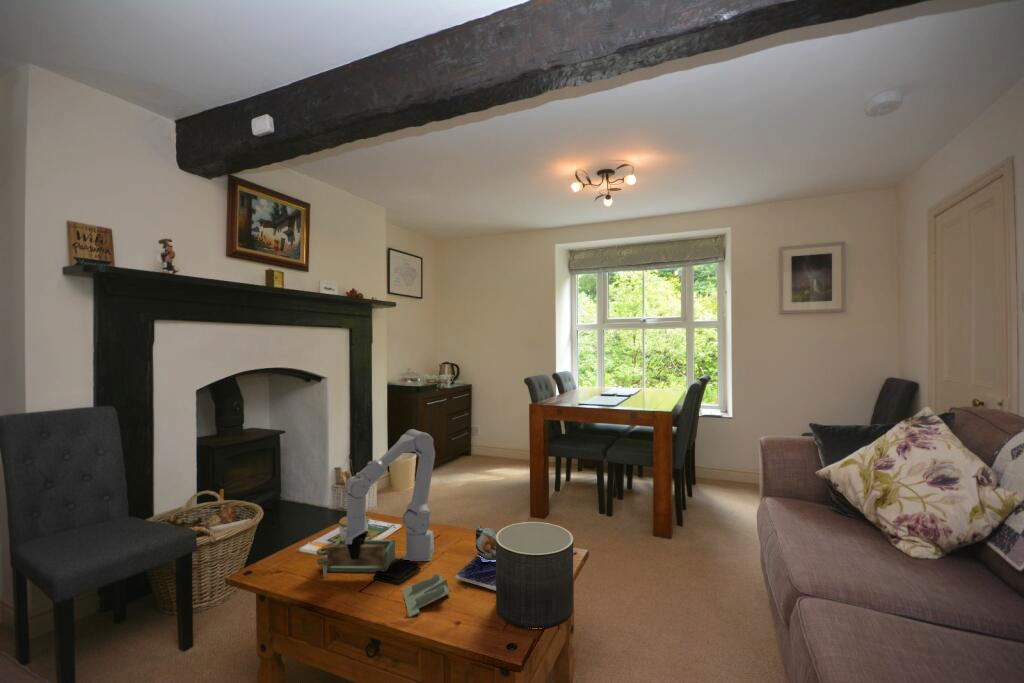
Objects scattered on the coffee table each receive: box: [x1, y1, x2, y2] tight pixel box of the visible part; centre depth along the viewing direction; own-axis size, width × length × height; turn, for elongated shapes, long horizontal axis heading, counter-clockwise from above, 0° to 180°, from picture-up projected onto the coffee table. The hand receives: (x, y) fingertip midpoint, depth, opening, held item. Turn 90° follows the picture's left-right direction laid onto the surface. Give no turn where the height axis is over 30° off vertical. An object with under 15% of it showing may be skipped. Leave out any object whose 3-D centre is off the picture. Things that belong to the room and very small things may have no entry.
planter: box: [495, 521, 574, 630], centre depth 133 cm, size 22×22×20 cm
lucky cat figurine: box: [475, 525, 498, 560], centre depth 161 cm, size 15×12×14 cm
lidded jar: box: [338, 515, 370, 539], centre depth 178 cm, size 11×11×9 cm
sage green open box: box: [322, 538, 396, 578], centre depth 156 cm, size 20×13×6 cm, turn 89°
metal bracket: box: [401, 573, 451, 618], centre depth 137 cm, size 14×6×15 cm
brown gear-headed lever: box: [316, 544, 385, 566], centre depth 150 cm, size 22×4×6 cm, turn 89°
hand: (356, 557), depth 150 cm, fingers closed on brown gear-headed lever, 2 cm apart
